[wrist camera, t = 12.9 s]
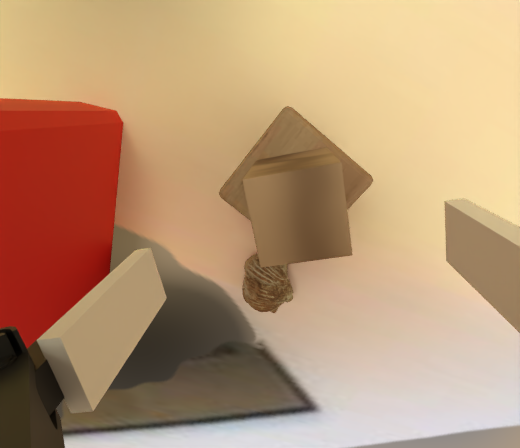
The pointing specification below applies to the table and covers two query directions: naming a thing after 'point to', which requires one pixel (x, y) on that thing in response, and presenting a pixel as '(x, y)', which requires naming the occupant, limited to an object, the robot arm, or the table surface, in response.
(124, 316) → the robot arm
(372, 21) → the table surface
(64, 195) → the book
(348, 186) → the wooden block
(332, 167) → the walnut block
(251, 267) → the seashell
